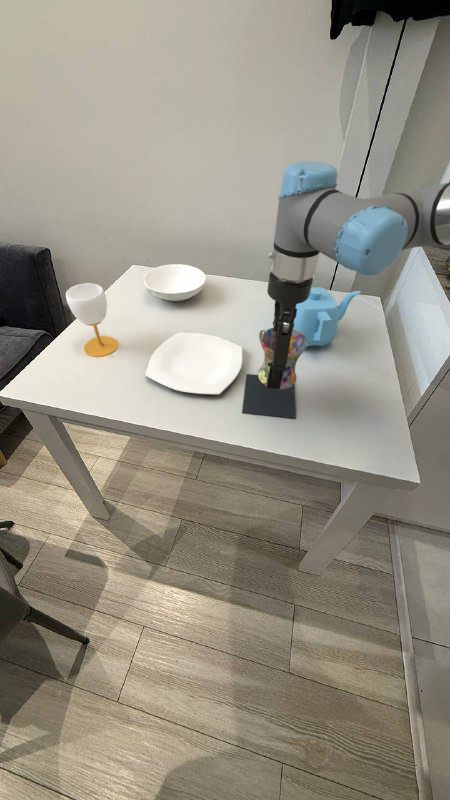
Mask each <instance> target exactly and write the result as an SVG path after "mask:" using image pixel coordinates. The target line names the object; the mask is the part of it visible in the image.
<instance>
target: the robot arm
mask: <svg viewBox="0 0 450 800" xmlns="http://www.w3.org/2000/svg"><path fill="white" fill-rule="evenodd" d="M338 174H339V173H338V170H337V168H336V167H334V166H333V165H331V164H329V163H326V162H320V161H319V162H318V161H297V162H293V163H290V164H289V165H288V166H287V167H286V168H285V170H284V172H283V176H282V181H281V187H280V191H279V195H278V204H277V205H278V206H277V214H276V222H275V230H274V237H273V248H272V250H273V251H269V252H268V255H267V257H268V258H269V259H271V262H270V263H271V264H270V273H269V275H268V281H267V282H268V283H267V290H266V291H267V294H268V296H269V297H270V299H272V300H273V301H274V313H273V316H274V317H273V321H272V326H273V327H272V328H274V330H275V331H276V335H275V343H274V350H273V358H272V362H271V363H269V362H268V366H270V370H269V376H268V382H267V388H272V389H280V385H281V380H282V375H283V371H285V370H286V362H287V357H288V351H289V346H290V340H291V335H292V331H293V327H294V319H295V318H296V314H297V309H296V304H299V303H303V302H304V301H306V300H307V299H308V298H309V295H310V291H311V287H313V282H314V276H315V275H316V272H317V271H316V270H317V267H318V262H319V258H320V254H322V255H324V256H326V257H327V258H329V259H330V260H333V262H336V263H338V264H339V265H340V266H342V267H343V268H345V269H348V270H350V271H354V272H357V273H359V274H361V275H364V276H376V275H378V274H380V273H382V272H383V271H384V270H385V268H386V267H389V266H391V265H392V264H393V263H394V262H395V260H396V259H397V257H398V256H399V255H400V253H401V251H404V250H409V249H412V248H413V249H414V248H423V247H435V246H436V247H437V246H444V245H450V182H443V183H439V184H433V185H428V186H423V187H419V188H416V189H410V190H406V191H402V192H396V193H395V192H394V193H389V194H383V195H378V196H372V197H367V198H359V197H355V196H353V195H350V194H347V193H344V192H342V191H340V190H338V189H336V188H337V186H338V183H337V181H338V177H339V175H338Z"/></svg>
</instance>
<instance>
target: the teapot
mask: <svg viewBox="0 0 450 800" xmlns="http://www.w3.org/2000/svg"><path fill="white" fill-rule="evenodd" d="M360 294H361V291H360V290H354V291H351V292H348V293H347V294H346V295H345V296H344V297H343V298H342V300H341V301H340V303H339V304H338V303H337V301H336V299H335V298H334V296H333V295H332V294H331V293H330V292H329V291H328V290H327V289H325V288H323V287H321V286H319V287H318V286H317V287H316V286H315V287H313V286H312V287H311V291H310V295H309V298H308V299H307V300H306V301H304V302H303V303H299V304H296V309H297V314H296V318H295V319H294V327H293V329H295V330H297V331H299V332H300V333H302V334H303V335H304V336H305V337H306V339H307V343H308V344H307V347H311V346H312V347H313V346H319V347H325V346H326V345H328V344H330V343H331V342H332V341H333V340H334V339H335V338H336V336H337V333H338V328H339V321H341V320H342V319H343V318H344V317H345V314H346V312H347V310H348V307H349V305H350V302H351V301H352V299H354V298H355V297H356V296H357V295H360Z"/></svg>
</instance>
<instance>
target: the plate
mask: <svg viewBox="0 0 450 800" xmlns="http://www.w3.org/2000/svg"><path fill="white" fill-rule="evenodd" d="M243 352H244V351H243V346H241V345H239V344H236V343H234V342H232V341H230V340H228V339H225V338H222V337H219V336H216V335H212V334H207V333H198V332H176V333H175V334H173V335H172V336H170V337H169V338H168V339H166V340H165V341H163V342H162V343H161V344H160V345H159V346H157V348H156V349H155V350H154V351H153V352H152V354H151V356H150V358H149V361H148V364H147V368H146V372H145V376H146V377H147V378H149V379H150V380H152V381H154V382H156V383H158V384H159V385H162V386H164V387H166V388H169V389H171V390H174V391H177V392H181V393H188V394H195V395H196V394H197V395H211V396H212V395H213V396H214V395H215V396H216V395H221V394H222V393H223V392H224V391H225V390H226V389H227V388H228V387H229V386H230V385H231V384H232V383H233V382H234V380H235V379H236V378H237V377H238V376H239V373H240V372H241V369H242V366H243V359H244V355H243Z"/></svg>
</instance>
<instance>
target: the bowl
mask: <svg viewBox="0 0 450 800" xmlns="http://www.w3.org/2000/svg"><path fill="white" fill-rule="evenodd" d="M206 281H207V277H206V274H205V272H204V271H203V270H201V269H199V268H197V267H195V266H192V265H190V264H189V265H187V264H180V263H173V264H171V263H170V264H163V265H160V266H156V267H154V268H151V269H150V270H148V271H147V272H146V273H145V274H144V276H143V281H142V283H143V284H144V285H145V286H146V287H147V288H148V289H149V292H150V293H151V294H152V295H154V296H155V297H158V298H159V299H163V300H165V301H169V302H170V301H171V302H181V301H185V300H188V299H190V298H192V297H195V296H196V295H197V294H199V293H200V292H201V290H202V288H203V286H204V285H205V283H206Z"/></svg>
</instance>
